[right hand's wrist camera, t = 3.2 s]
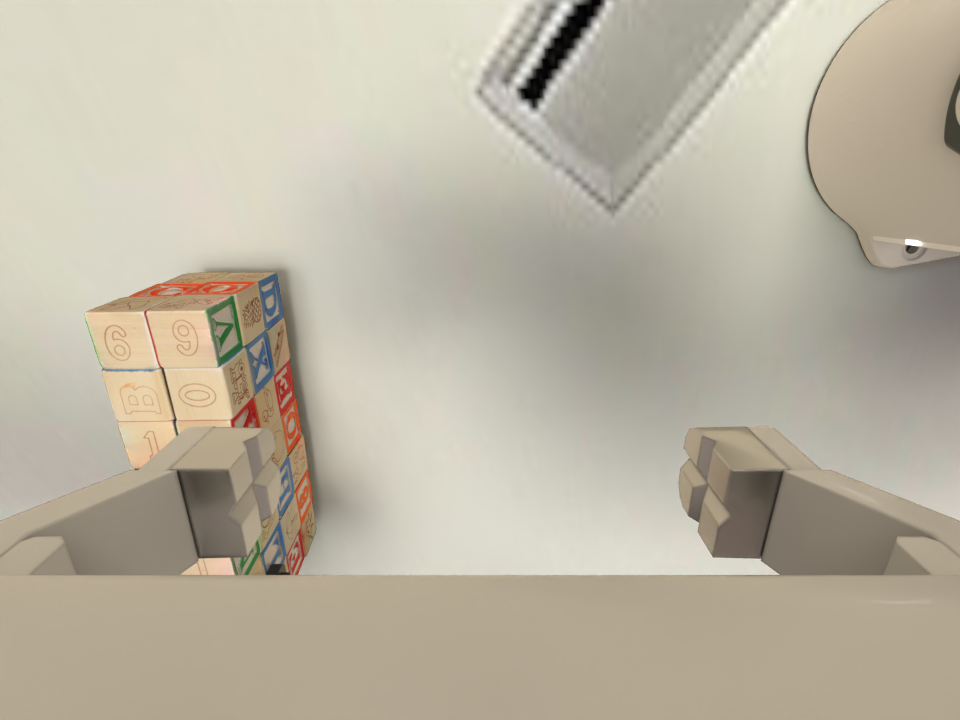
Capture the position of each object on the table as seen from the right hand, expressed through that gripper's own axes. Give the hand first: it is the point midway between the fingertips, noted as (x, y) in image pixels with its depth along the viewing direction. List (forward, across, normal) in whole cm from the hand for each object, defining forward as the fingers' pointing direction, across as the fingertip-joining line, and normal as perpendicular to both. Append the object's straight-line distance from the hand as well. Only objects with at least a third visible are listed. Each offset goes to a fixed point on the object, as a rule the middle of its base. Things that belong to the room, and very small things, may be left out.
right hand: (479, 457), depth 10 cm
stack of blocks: (+25, -16, -12) cm, 32 cm away
